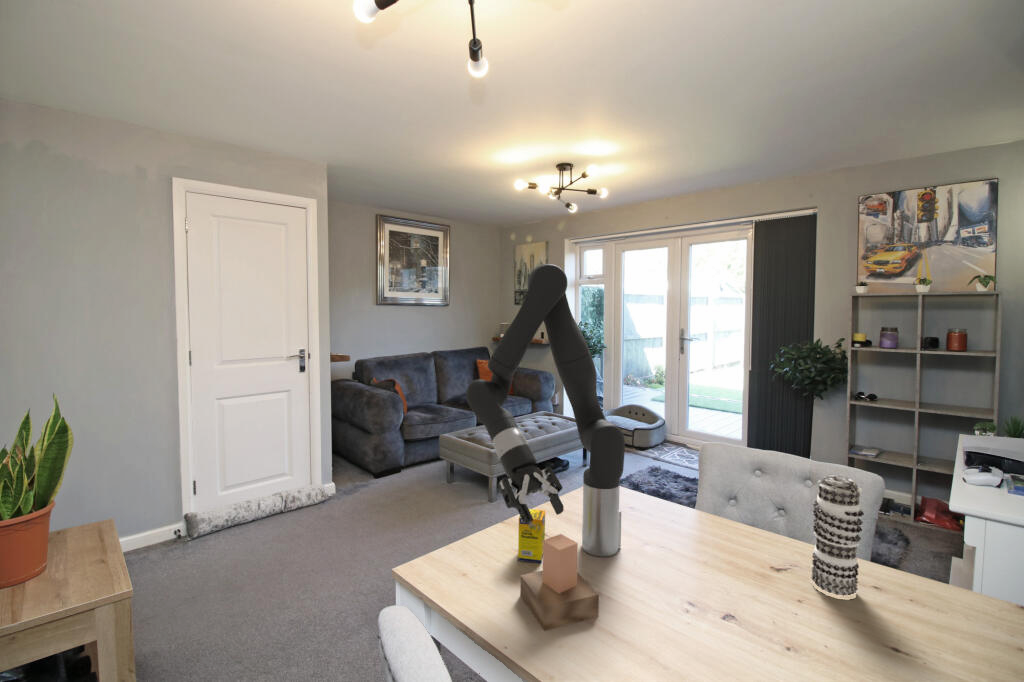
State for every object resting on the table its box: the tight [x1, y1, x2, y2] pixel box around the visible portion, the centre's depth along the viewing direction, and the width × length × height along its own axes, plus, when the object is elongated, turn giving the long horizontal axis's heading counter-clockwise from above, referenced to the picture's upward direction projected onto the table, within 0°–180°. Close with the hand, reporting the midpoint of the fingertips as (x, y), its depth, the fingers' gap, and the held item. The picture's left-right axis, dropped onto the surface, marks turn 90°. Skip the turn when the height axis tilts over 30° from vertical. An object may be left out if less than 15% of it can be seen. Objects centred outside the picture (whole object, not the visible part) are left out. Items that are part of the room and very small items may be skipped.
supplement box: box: [517, 508, 546, 564], centre depth 119 cm, size 6×6×11 cm
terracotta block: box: [542, 533, 578, 594], centre depth 99 cm, size 5×5×9 cm
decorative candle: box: [810, 475, 865, 596], centre depth 106 cm, size 9×9×25 cm
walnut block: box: [519, 570, 600, 631], centre depth 99 cm, size 12×12×5 cm
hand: (545, 517), depth 102 cm, fingers open, 8 cm apart
